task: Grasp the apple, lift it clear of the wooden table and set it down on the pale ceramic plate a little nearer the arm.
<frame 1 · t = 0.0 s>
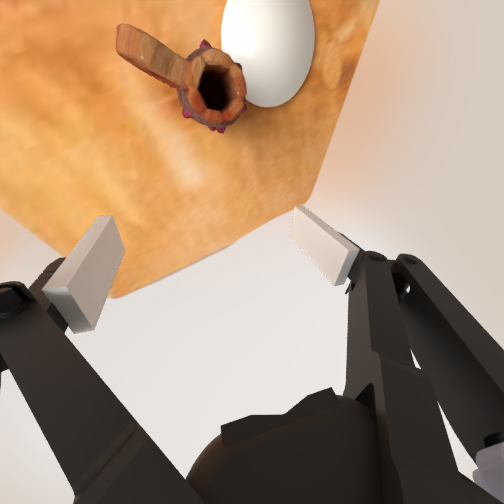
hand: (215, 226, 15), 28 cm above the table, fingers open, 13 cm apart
mug: (188, 88, 31), on the table
plate: (267, 48, 31), on the table
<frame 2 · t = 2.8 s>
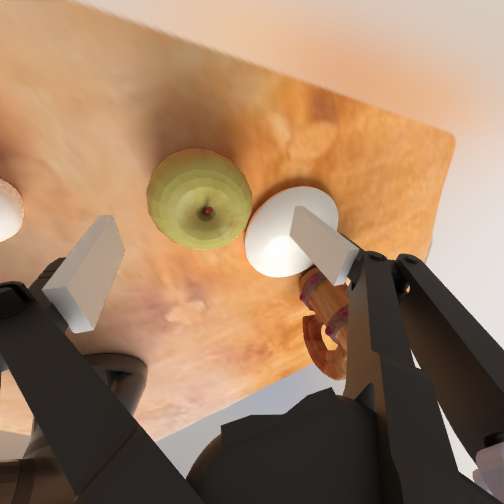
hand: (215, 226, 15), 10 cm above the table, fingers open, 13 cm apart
apple: (199, 190, 23), on the table
mug: (305, 286, 39), on the table
plate: (290, 234, 30), on the table
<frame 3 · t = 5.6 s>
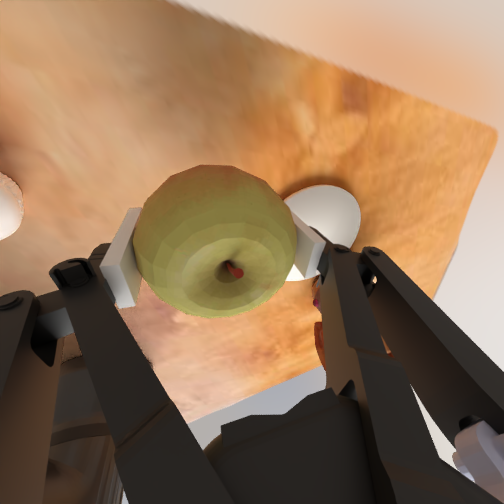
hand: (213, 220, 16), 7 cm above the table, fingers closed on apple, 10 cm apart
apple: (213, 218, 16), point 6 cm above the table, touching gripper
mug: (318, 290, 37), on the table
plate: (306, 236, 28), on the table
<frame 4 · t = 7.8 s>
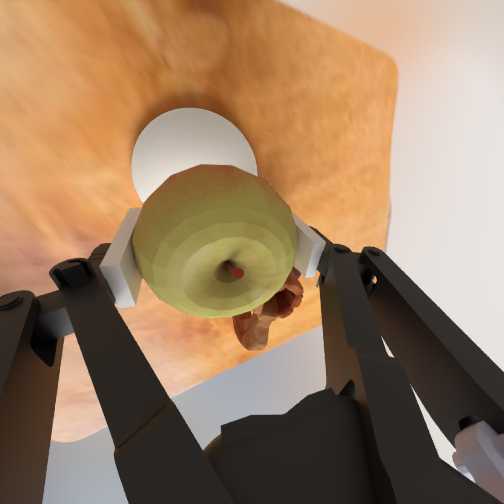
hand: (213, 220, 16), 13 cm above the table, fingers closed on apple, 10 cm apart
apple: (213, 218, 16), point 12 cm above the table, touching gripper
mug: (240, 252, 35), on the table
plate: (199, 179, 26), on the table
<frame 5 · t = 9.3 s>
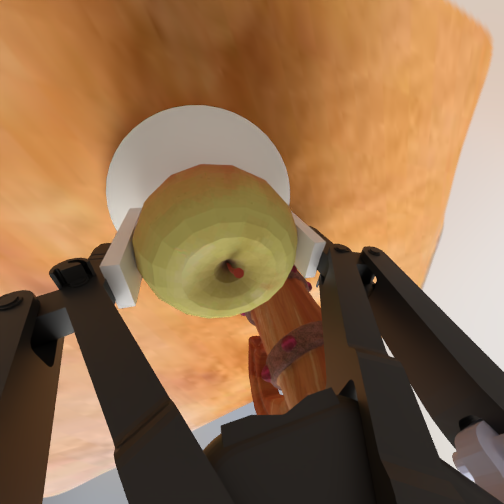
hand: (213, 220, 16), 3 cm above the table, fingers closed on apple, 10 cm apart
apple: (213, 218, 16), point 3 cm above the table, touching gripper
mug: (258, 292, 27), on the table
plate: (208, 207, 18), on the table
when the fingers open (2 cm above the table, at t = 10.5 s): apple stays where it is, resting on plate.
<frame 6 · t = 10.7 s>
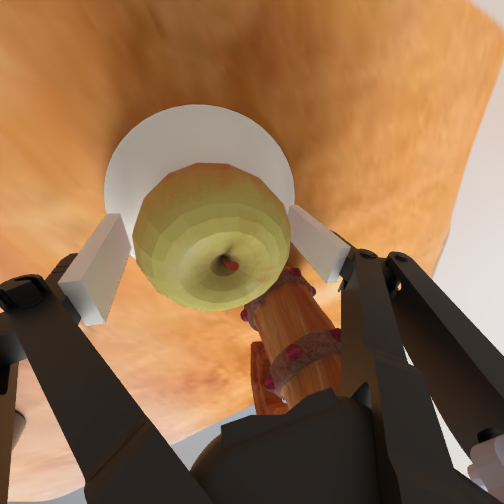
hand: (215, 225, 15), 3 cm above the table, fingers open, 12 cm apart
apple: (211, 215, 17), point 1 cm above the table, touching plate
mug: (260, 296, 26), on the table
plate: (210, 210, 17), on the table
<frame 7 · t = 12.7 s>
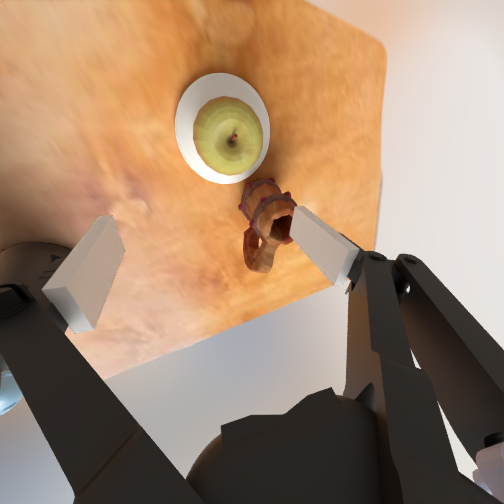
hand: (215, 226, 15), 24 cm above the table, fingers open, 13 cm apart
apple: (224, 136, 31), point 1 cm above the table, touching plate
mug: (251, 207, 41), on the table
plate: (224, 135, 32), on the table
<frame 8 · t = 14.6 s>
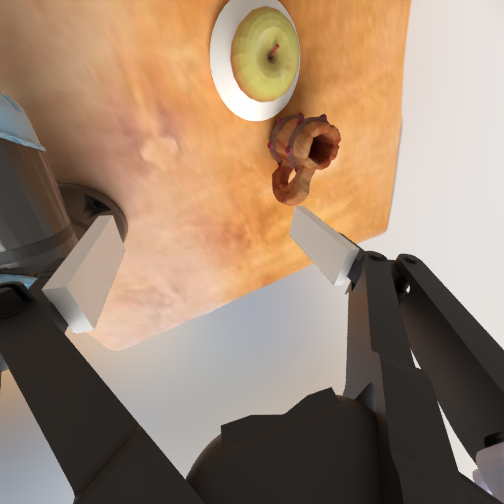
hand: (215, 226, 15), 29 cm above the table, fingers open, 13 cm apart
apple: (256, 65, 32), point 1 cm above the table, touching plate
mug: (277, 152, 41), on the table
plate: (255, 66, 32), on the table
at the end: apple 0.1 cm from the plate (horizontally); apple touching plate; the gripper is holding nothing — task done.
